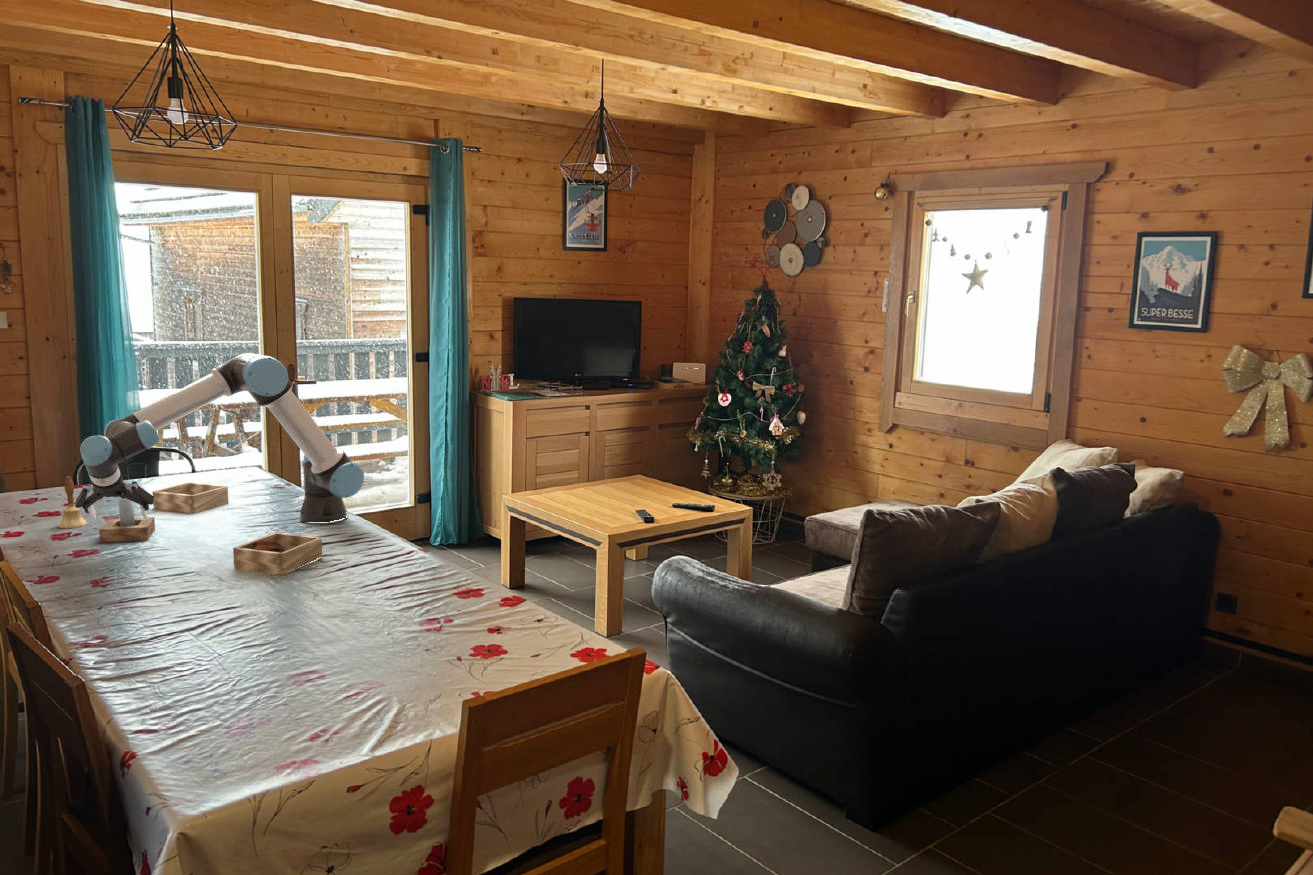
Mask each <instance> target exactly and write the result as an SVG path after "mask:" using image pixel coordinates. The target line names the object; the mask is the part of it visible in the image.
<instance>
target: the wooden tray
mask: <svg viewBox="0 0 1313 875" xmlns="http://www.w3.org/2000/svg"><path fill="white" fill-rule="evenodd" d="M152 496H154V501H153V504H152V505H153V509H154V510H159V511H168V512H176V513H177V512H178V513H187V514H196V513H200V512H203V511H206V510H210V509H212V508H213V509H214V508H216V507H220V506H223V505H226V504H229V487H228V486H227V485H221V484H210V483H200V482H185V483H181V484H176V485H173V486H169V487H164V488H160V489H157V490H152Z"/></svg>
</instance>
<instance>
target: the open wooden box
mask: <svg viewBox="0 0 1313 875" xmlns="http://www.w3.org/2000/svg"><path fill="white" fill-rule="evenodd" d="M261 541H272V542H277V543H279V544H280V545H281V546H280V547H283V548H284V549H285V550H286V551H284V552H282V553H280V552H271V551H263V550H254V549H252V548H253V543H255V542H261ZM232 554H233V569H235V570H236V569H237V571H243V570H246V571H245V572H251V571H253V573H259V572H261V574H267V573H269V575H275V574H280V575H282V574H285V575H287V574H289V573H288V572H289V571H291V570H293V569H296V568H298V567H300V566H302V565H305V564H307V563H309V562H311V561H314V560H316V559H317V558H319V557H321V556H322V557H323V538H322V537H319V536H311V535H304V534H302V535H301V534H293V533H286V532H284V533H283V532H272V533H269V534H267V535H264V536H261V537H259V538H256V539H254V540H251V541H248V542H245V543H242V544H240V545H236V546H234V547H233V551H232ZM286 573H287V574H286Z"/></svg>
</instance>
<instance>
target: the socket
mask: <svg viewBox="0 0 1313 875" xmlns="http://www.w3.org/2000/svg"><path fill="white" fill-rule="evenodd" d="M134 518H135V526H120V518H108V519H107V520H106V521H105V522H104V524H103V525H102V526H101V527H100V528H99V531H98V532H99V533H98V534H99V543H113V542H114V543H117V542H134V541H149V540H150V537H152V536H153V533H154V532H155V531H156V522H155V516H152V517H151V516H150V517H147V518H143V517H134Z"/></svg>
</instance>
